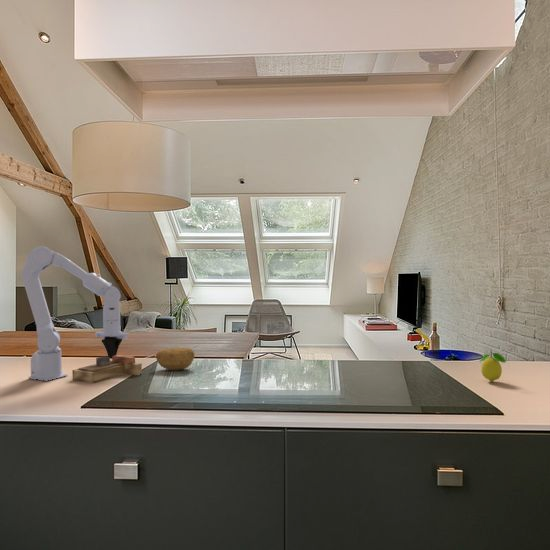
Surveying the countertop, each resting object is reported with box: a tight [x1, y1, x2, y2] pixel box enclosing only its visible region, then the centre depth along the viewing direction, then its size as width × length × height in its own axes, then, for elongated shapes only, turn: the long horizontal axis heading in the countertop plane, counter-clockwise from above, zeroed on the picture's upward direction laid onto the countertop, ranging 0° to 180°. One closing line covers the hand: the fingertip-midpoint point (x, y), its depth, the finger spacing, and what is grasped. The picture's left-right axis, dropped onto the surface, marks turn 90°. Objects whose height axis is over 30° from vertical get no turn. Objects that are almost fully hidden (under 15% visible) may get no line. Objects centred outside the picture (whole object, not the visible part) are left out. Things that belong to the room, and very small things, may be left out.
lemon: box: [479, 350, 507, 383], centre depth 126 cm, size 7×6×10 cm
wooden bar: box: [111, 354, 136, 363], centre depth 144 cm, size 9×2×2 cm, turn 64°
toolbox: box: [71, 359, 143, 384], centre depth 139 cm, size 16×16×4 cm
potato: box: [155, 346, 196, 371], centre depth 148 cm, size 10×14×8 cm
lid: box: [78, 355, 123, 372], centre depth 140 cm, size 7×13×3 cm, turn 154°
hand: (112, 358), depth 146 cm, fingers closed
